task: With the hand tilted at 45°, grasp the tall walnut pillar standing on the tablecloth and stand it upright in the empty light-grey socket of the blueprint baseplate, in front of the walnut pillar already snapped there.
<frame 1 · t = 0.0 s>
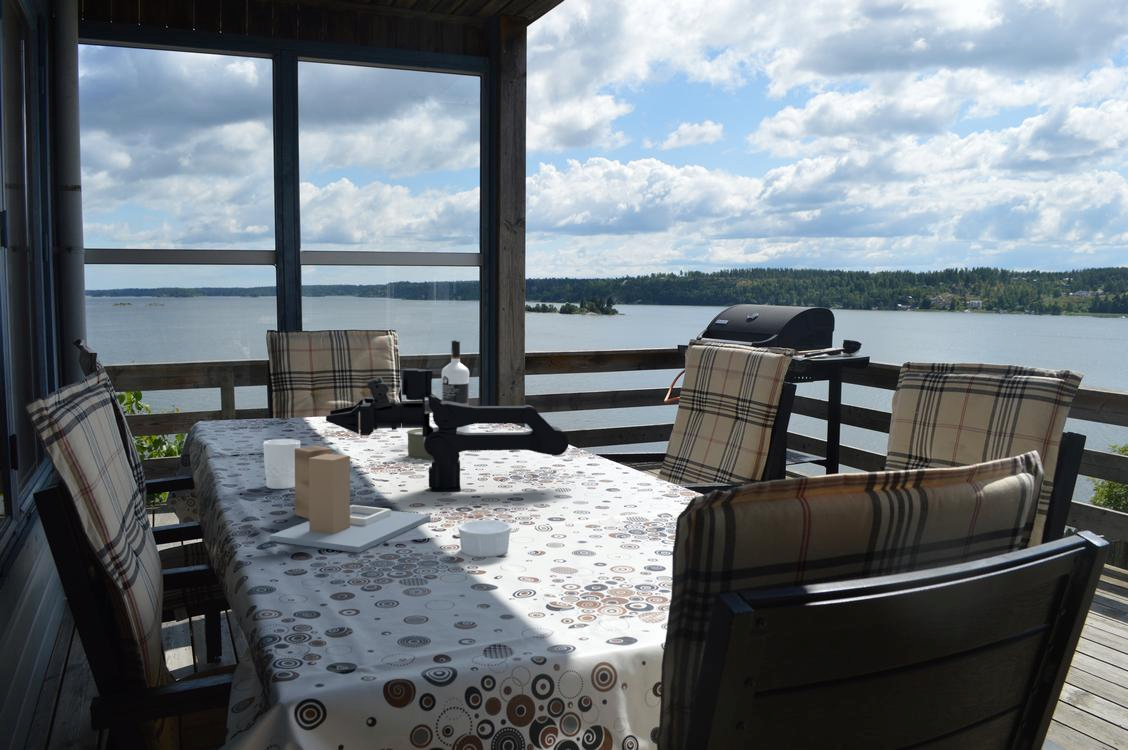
hand: (328, 415, 191), 17 cm above the table, tool horizontal, fingers open, 9 cm apart
vodka: (455, 439, 268), on the table
white cup: (282, 487, 196), on the table
walnut pillar: (313, 514, 170), on the table
ramekin: (484, 552, 148), on the table
can: (429, 457, 237), on the table
blueprint baseplate: (358, 523, 164), on the table
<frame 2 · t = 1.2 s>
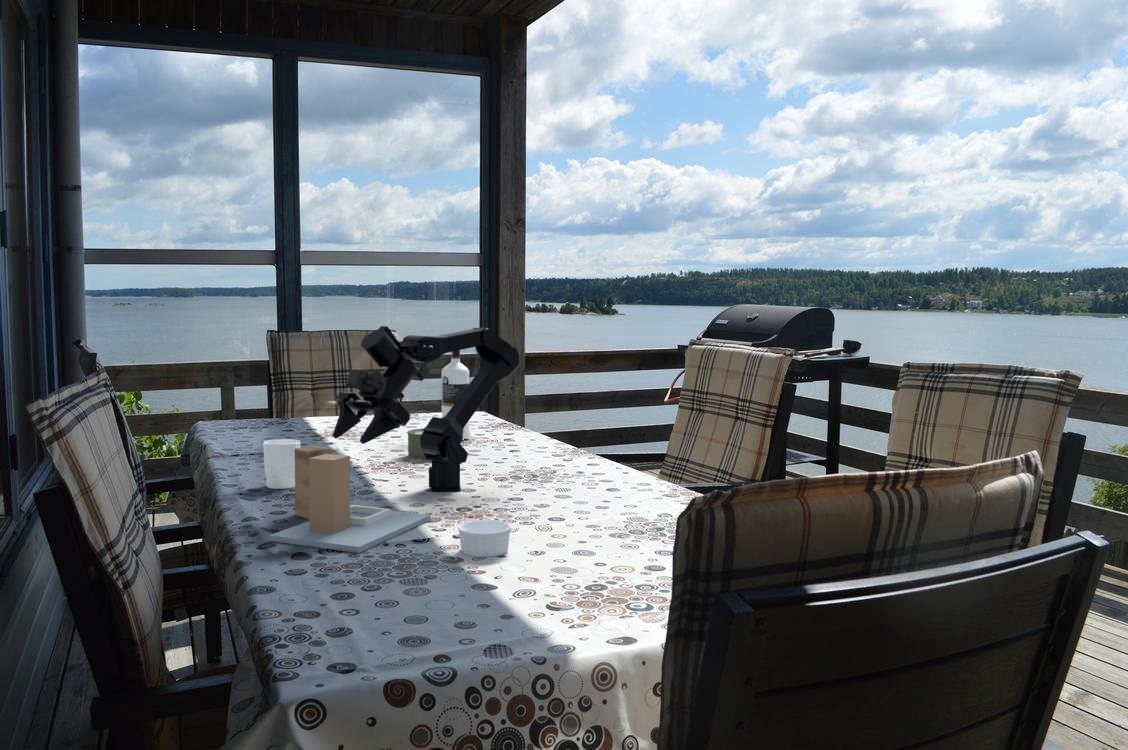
hand: (347, 439, 175), 14 cm above the table, tool tilted 45°, fingers open, 9 cm apart
nothing on the table moved.
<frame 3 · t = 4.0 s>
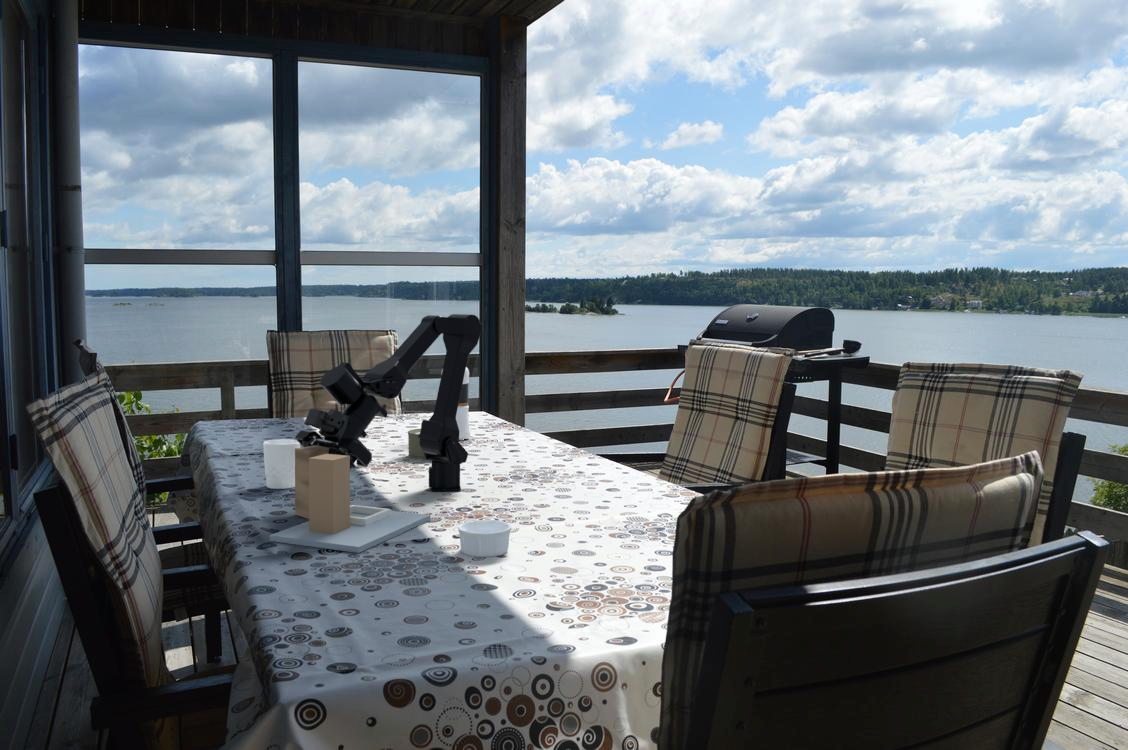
hand: (306, 482, 169), 7 cm above the table, tool tilted 45°, fingers closed on walnut pillar, 5 cm apart
walnut pillar: (313, 514, 170), on the table, touching gripper
everything else where it was.
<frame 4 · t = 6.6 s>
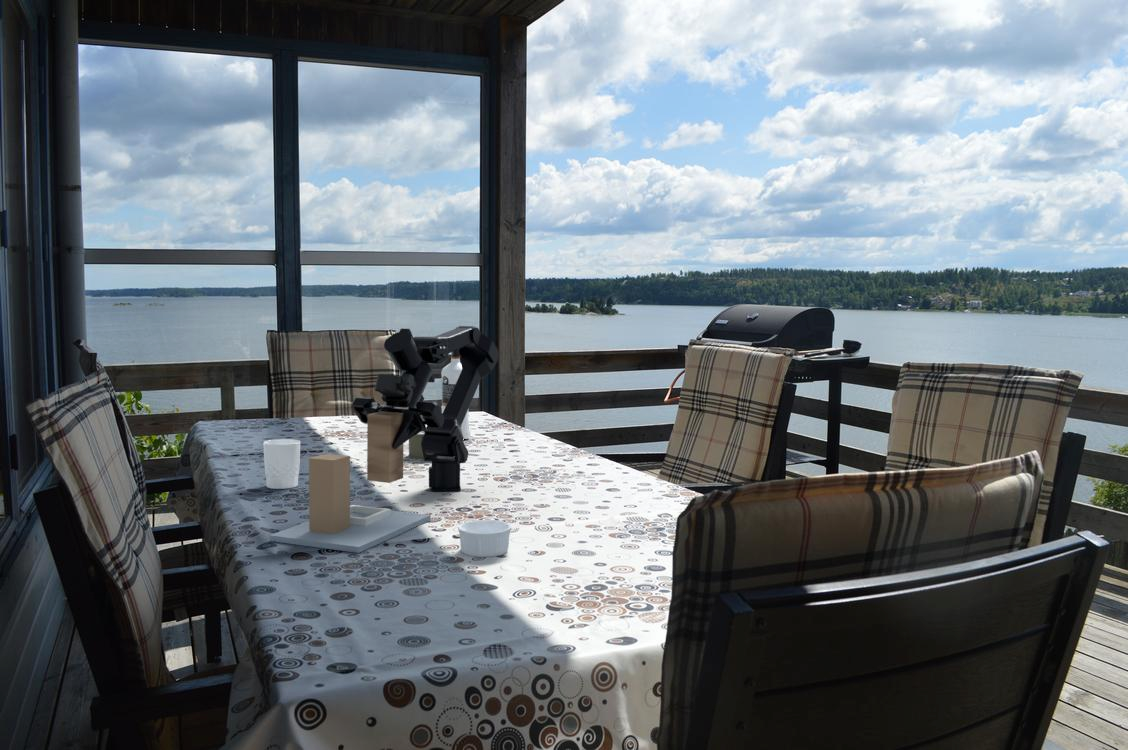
hand: (381, 446, 171), 13 cm above the table, tool tilted 45°, fingers closed on walnut pillar, 5 cm apart
walnut pillar: (385, 479, 173), point 7 cm above the table, touching gripper
everything else where it was.
when the fingers open (9 cm above the table, at t = 9.2 s): walnut pillar drops 1 cm, resting on blueprint baseplate.
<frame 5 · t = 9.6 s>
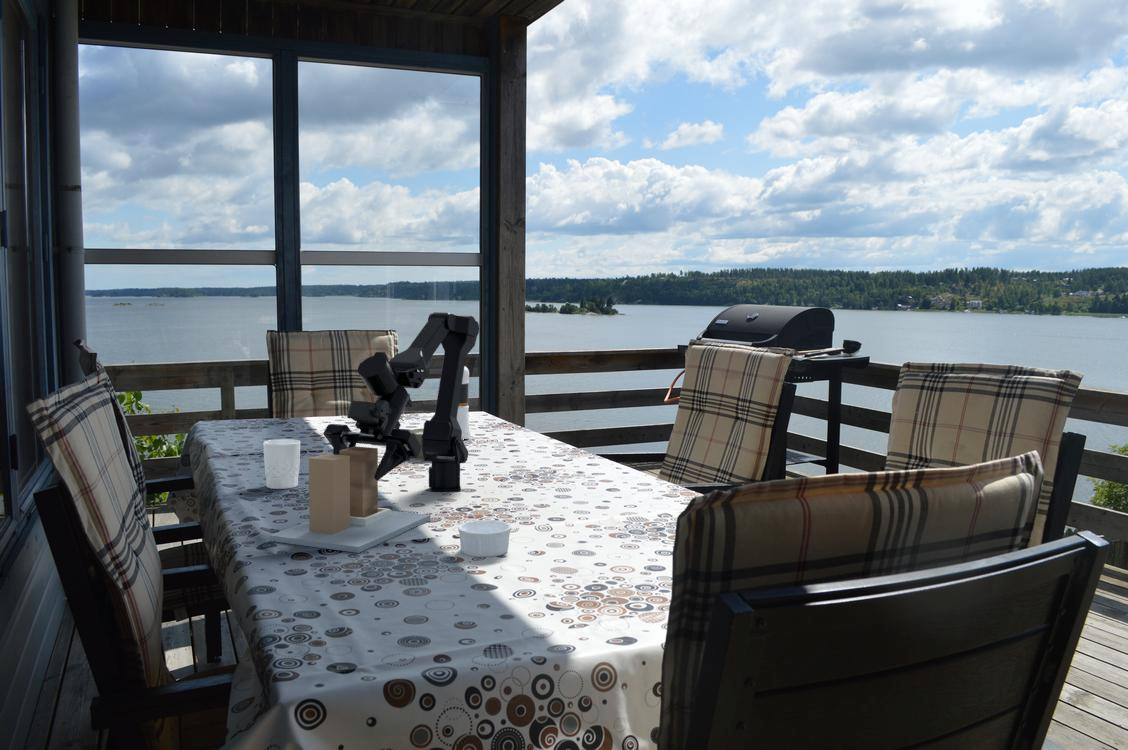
hand: (354, 476, 162), 9 cm above the table, tool tilted 45°, fingers open, 9 cm apart
walnut pillar: (358, 517, 164), point 1 cm above the table, touching blueprint baseplate
everything else where it was.
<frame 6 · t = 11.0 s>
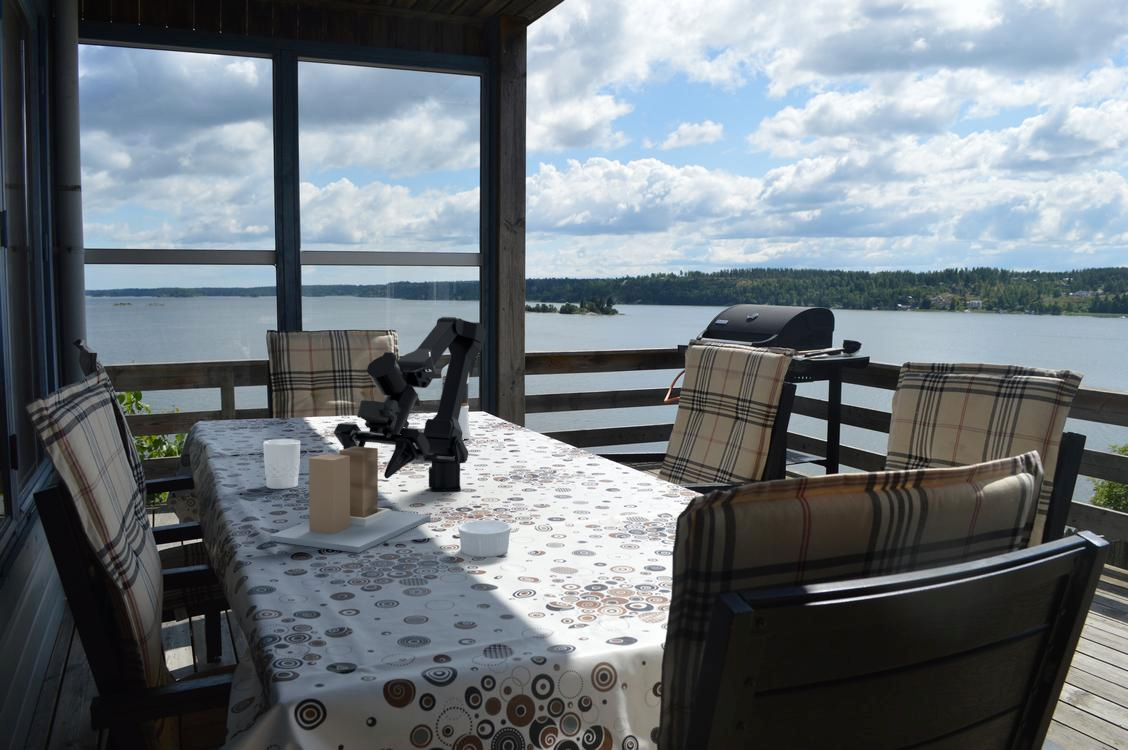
hand: (364, 475, 165), 9 cm above the table, tool tilted 45°, fingers open, 9 cm apart
nothing on the table moved.
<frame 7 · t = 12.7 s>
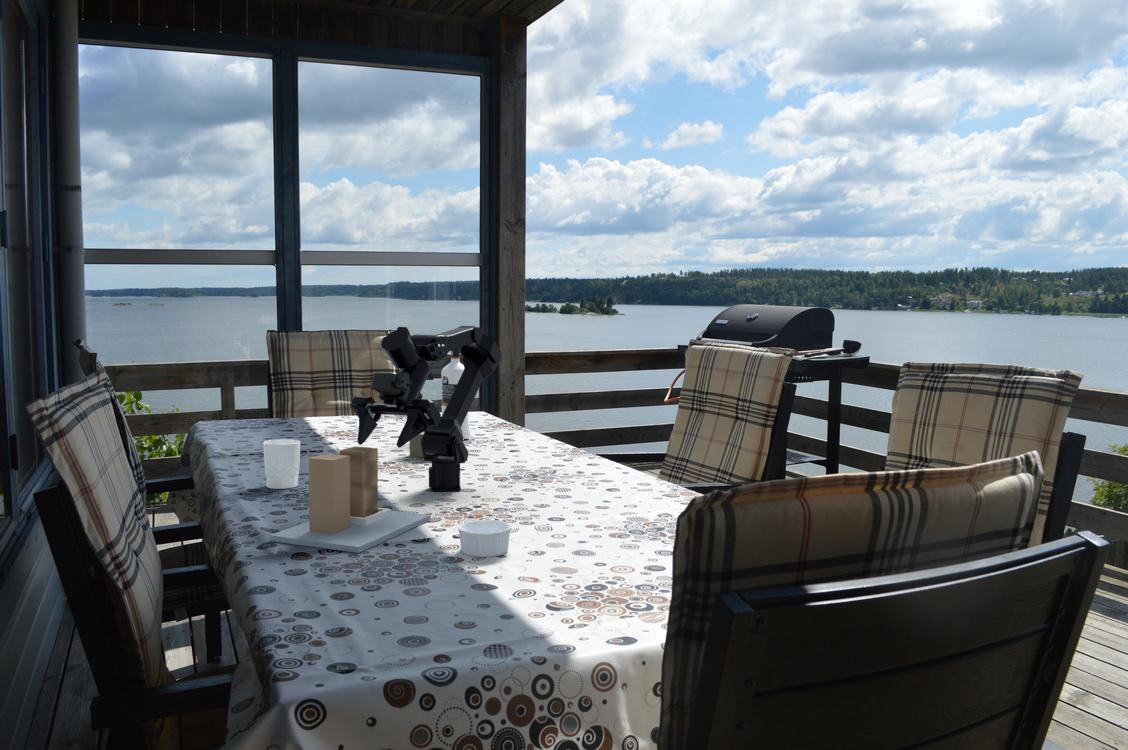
hand: (378, 444, 171), 14 cm above the table, tool tilted 45°, fingers open, 9 cm apart
nothing on the table moved.
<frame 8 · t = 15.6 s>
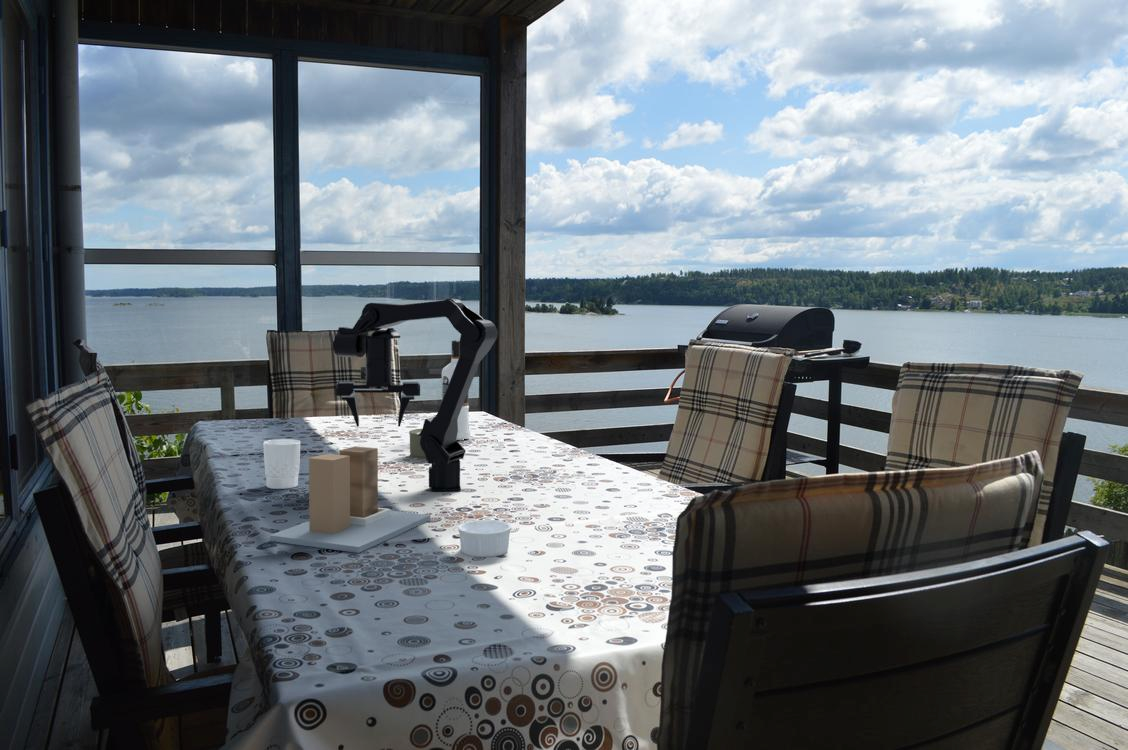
hand: (378, 426, 200), 13 cm above the table, tool pointing down, fingers open, 9 cm apart
nothing on the table moved.
at the end: walnut pillar 0.1 cm off-centre on the blueprint baseplate, point 1.0 cm above the blueprint baseplate's base; walnut pillar tilted 0°; the gripper is holding nothing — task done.
